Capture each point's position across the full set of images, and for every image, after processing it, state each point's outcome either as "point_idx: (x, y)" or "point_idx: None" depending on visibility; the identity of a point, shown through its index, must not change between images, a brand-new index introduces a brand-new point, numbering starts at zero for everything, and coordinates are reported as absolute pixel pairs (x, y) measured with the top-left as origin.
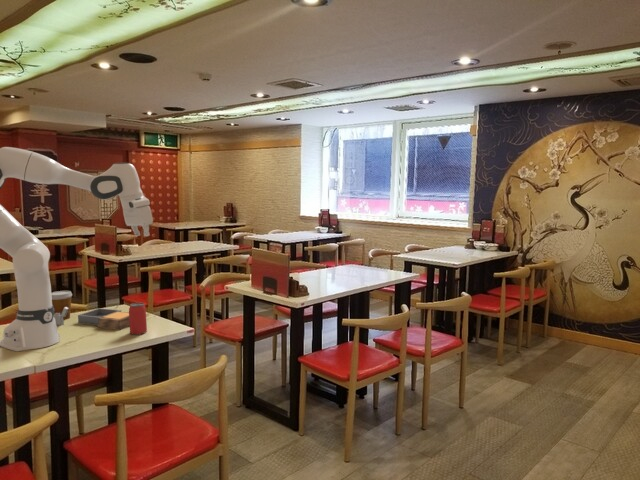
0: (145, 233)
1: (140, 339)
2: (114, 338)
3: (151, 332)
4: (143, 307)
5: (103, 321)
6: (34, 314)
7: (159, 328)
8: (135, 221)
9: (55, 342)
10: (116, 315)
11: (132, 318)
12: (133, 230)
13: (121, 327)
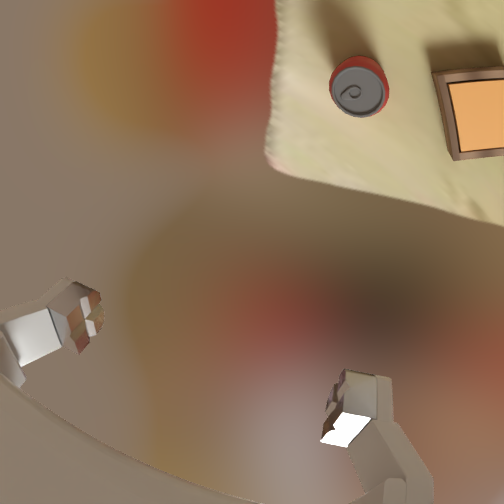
0: (48, 299)
1: (298, 44)
2: (366, 10)
3: None
4: (332, 97)
5: (493, 69)
6: None
7: (347, 135)
8: (12, 474)
9: None
10: (490, 111)
11: (349, 59)
12: (391, 445)
13: (433, 77)
